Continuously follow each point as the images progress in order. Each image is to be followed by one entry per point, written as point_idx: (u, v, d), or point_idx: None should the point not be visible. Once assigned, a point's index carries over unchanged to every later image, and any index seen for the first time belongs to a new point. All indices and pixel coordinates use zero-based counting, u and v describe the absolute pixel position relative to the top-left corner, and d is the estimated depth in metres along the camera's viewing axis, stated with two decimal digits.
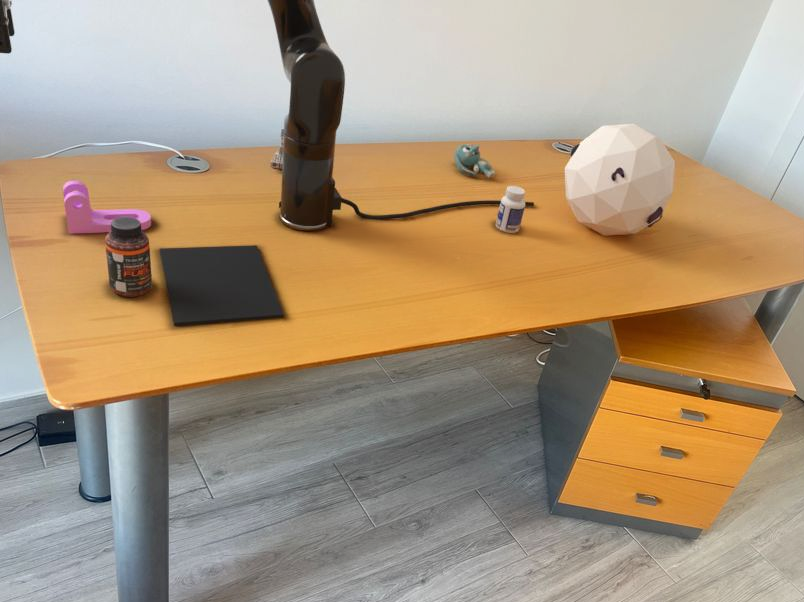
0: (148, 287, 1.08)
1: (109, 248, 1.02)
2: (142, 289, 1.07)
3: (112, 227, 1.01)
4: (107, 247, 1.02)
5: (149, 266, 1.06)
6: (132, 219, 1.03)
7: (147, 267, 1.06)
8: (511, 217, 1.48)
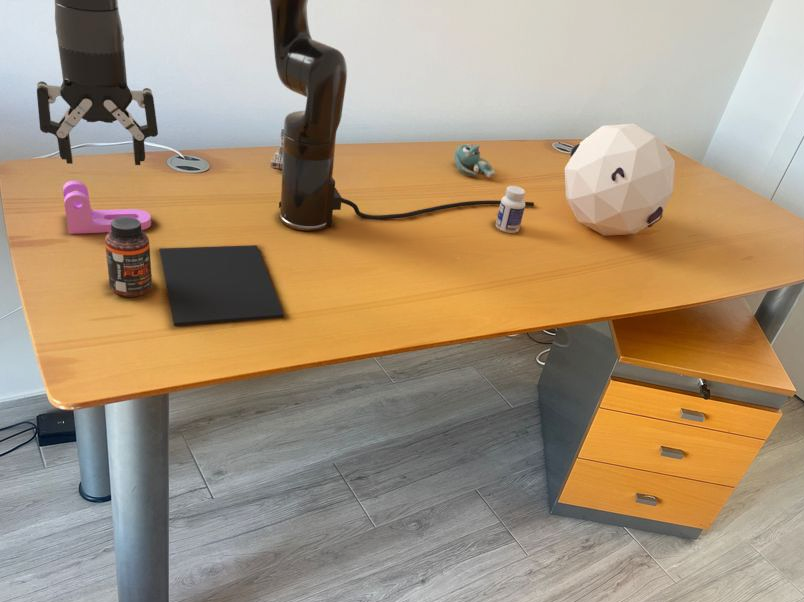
0: (148, 287, 1.08)
1: (109, 248, 1.02)
2: (142, 289, 1.07)
3: (112, 227, 1.01)
4: (107, 247, 1.02)
5: (149, 266, 1.06)
6: (132, 219, 1.03)
7: (147, 267, 1.06)
8: (511, 217, 1.48)
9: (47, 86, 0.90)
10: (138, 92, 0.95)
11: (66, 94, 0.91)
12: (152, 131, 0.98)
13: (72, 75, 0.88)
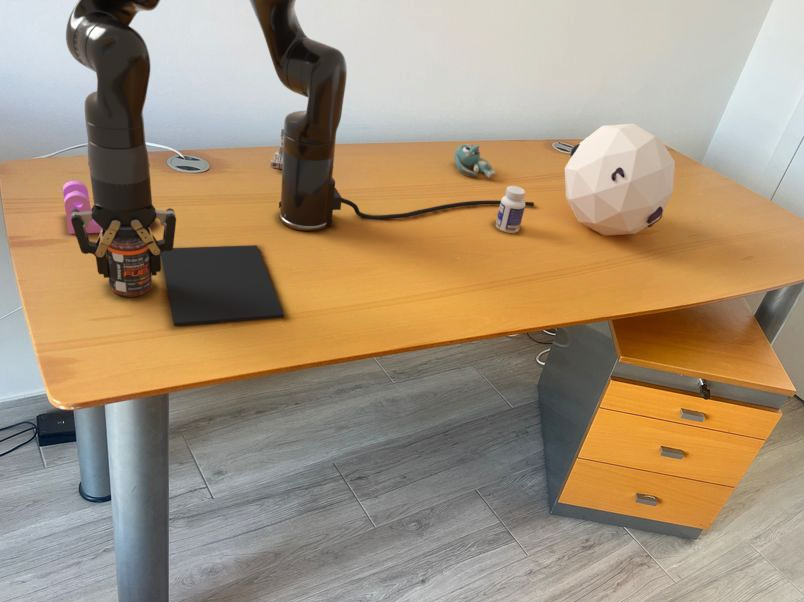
0: (148, 287, 1.08)
1: (109, 248, 1.02)
2: (142, 289, 1.07)
3: None
4: None
5: (149, 266, 1.06)
6: None
7: (147, 267, 1.06)
8: (511, 217, 1.48)
9: (79, 213, 0.99)
10: (163, 212, 1.03)
11: (97, 217, 0.99)
12: (168, 246, 1.05)
13: (103, 202, 0.96)
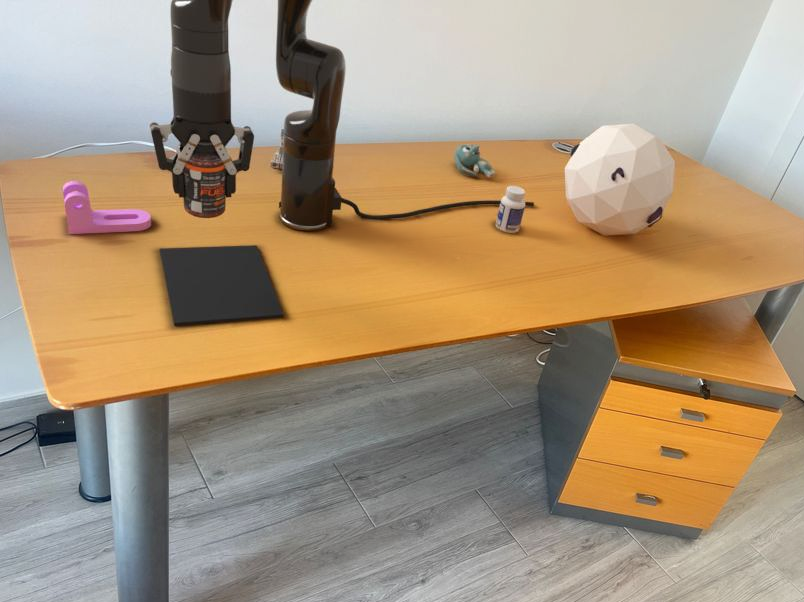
0: (222, 209, 1.05)
1: (187, 164, 0.99)
2: (217, 210, 1.04)
3: None
4: None
5: (224, 187, 1.04)
6: None
7: (223, 187, 1.03)
8: (511, 217, 1.48)
9: (159, 126, 0.96)
10: (241, 129, 1.01)
11: (176, 130, 0.96)
12: (244, 166, 1.03)
13: (185, 112, 0.94)
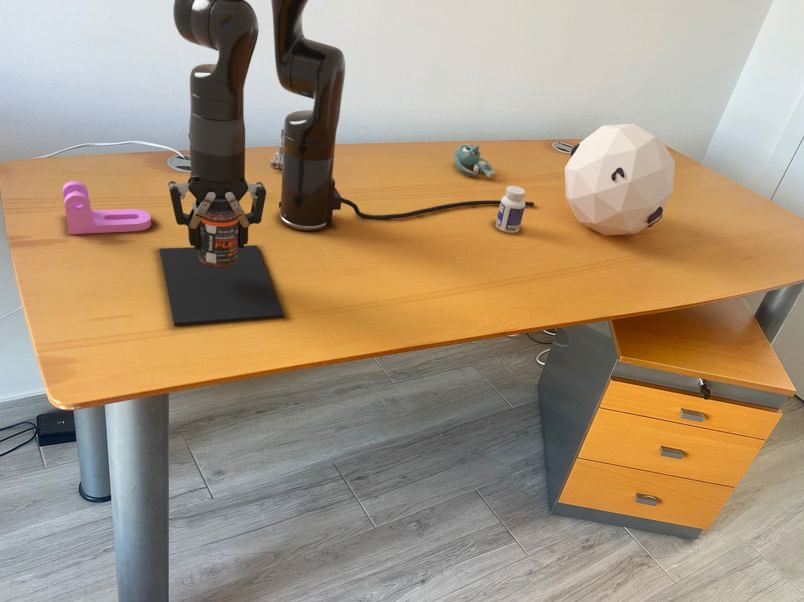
0: (235, 259, 1.11)
1: (203, 219, 1.05)
2: (230, 261, 1.10)
3: None
4: None
5: (237, 238, 1.09)
6: None
7: (236, 239, 1.09)
8: (511, 217, 1.48)
9: (177, 185, 1.02)
10: (253, 185, 1.06)
11: (193, 189, 1.02)
12: (257, 219, 1.09)
13: (202, 173, 0.99)
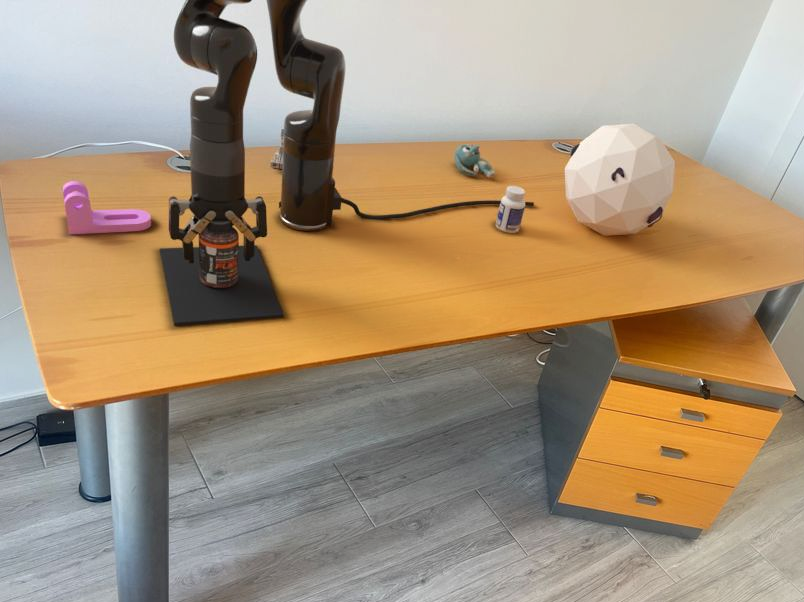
0: (235, 279, 1.13)
1: (204, 241, 1.07)
2: (230, 281, 1.12)
3: None
4: (201, 241, 1.07)
5: (237, 259, 1.12)
6: None
7: (236, 260, 1.11)
8: (511, 217, 1.48)
9: (178, 201, 1.03)
10: (253, 201, 1.08)
11: (194, 207, 1.04)
12: (262, 233, 1.11)
13: (202, 193, 1.01)
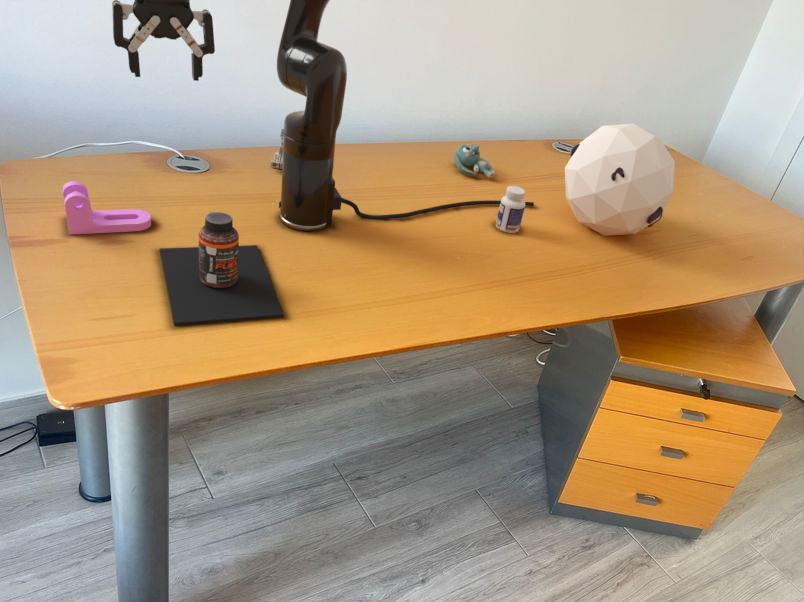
0: (235, 279, 1.13)
1: (204, 241, 1.07)
2: (230, 281, 1.12)
3: (207, 222, 1.06)
4: (201, 241, 1.07)
5: (237, 259, 1.12)
6: (224, 214, 1.08)
7: (236, 260, 1.11)
8: (511, 217, 1.48)
9: (121, 4, 1.03)
10: (199, 12, 1.07)
11: (138, 11, 1.03)
12: (210, 48, 1.10)
13: None
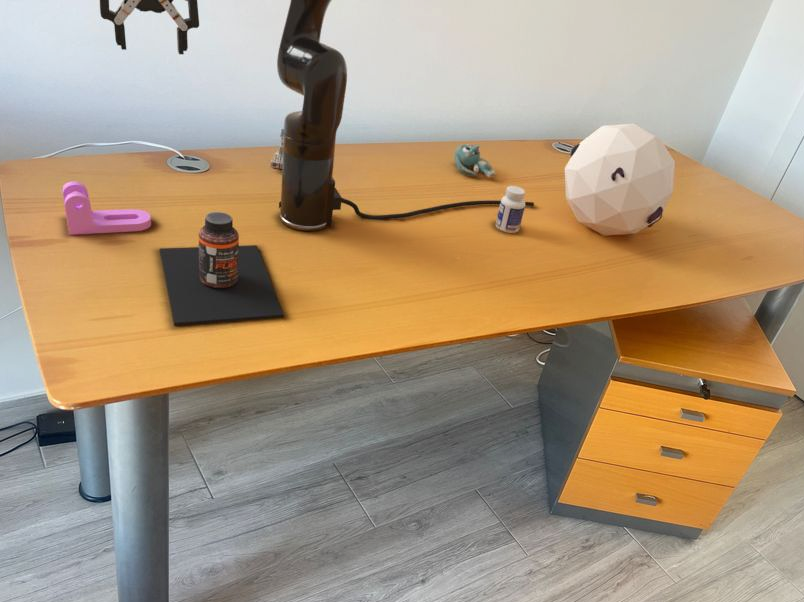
0: (235, 279, 1.13)
1: (204, 241, 1.07)
2: (230, 281, 1.12)
3: (207, 222, 1.06)
4: (201, 241, 1.07)
5: (237, 259, 1.12)
6: (224, 214, 1.08)
7: (236, 260, 1.11)
8: (511, 217, 1.48)
9: None
10: None
11: None
12: (194, 22, 1.13)
13: None
